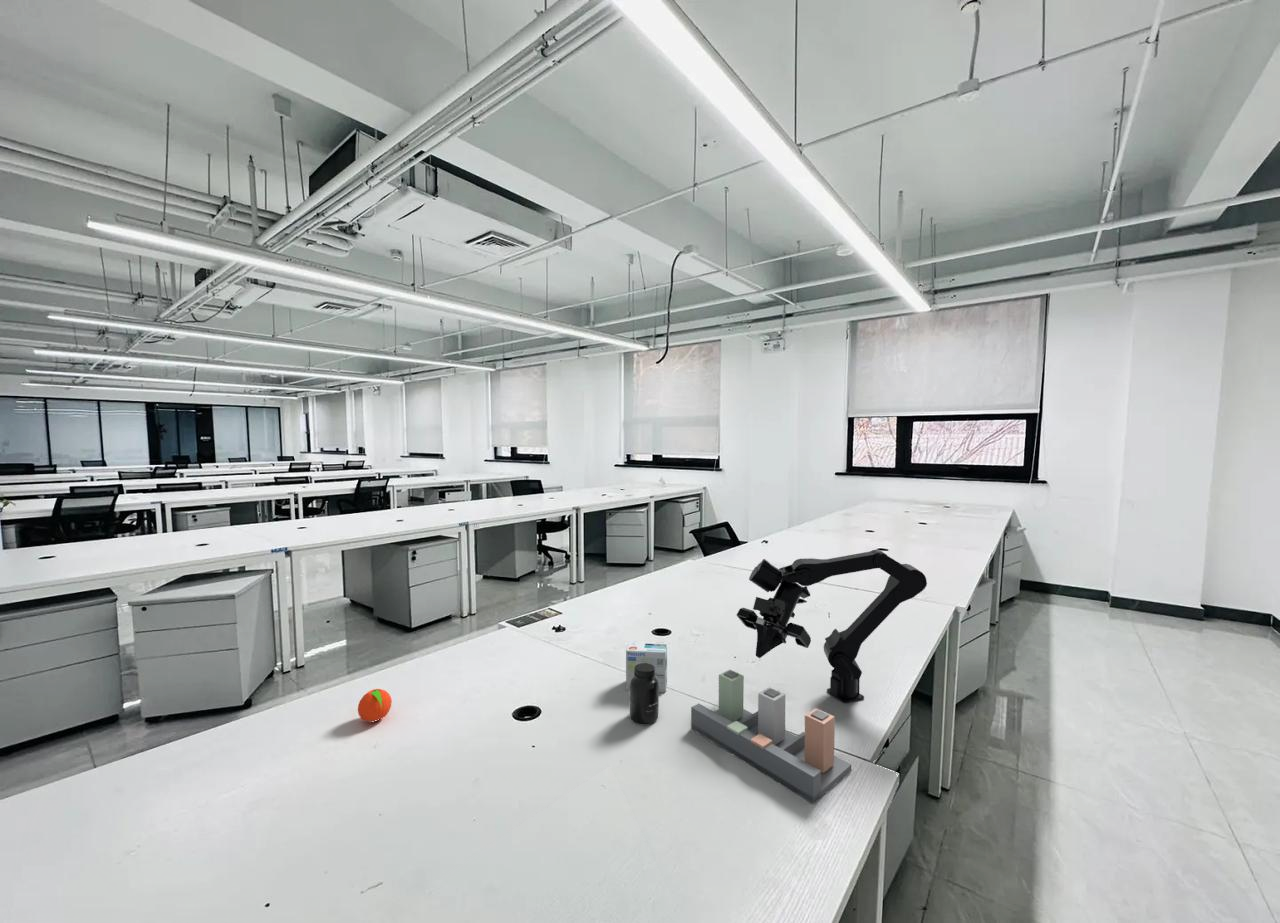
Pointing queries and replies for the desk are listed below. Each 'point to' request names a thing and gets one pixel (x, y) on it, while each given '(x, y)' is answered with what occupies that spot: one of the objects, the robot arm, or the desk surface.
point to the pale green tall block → (731, 695)
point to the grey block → (771, 715)
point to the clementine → (374, 705)
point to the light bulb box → (647, 660)
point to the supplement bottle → (644, 695)
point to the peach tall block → (819, 739)
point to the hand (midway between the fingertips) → (757, 656)
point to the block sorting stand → (768, 752)
